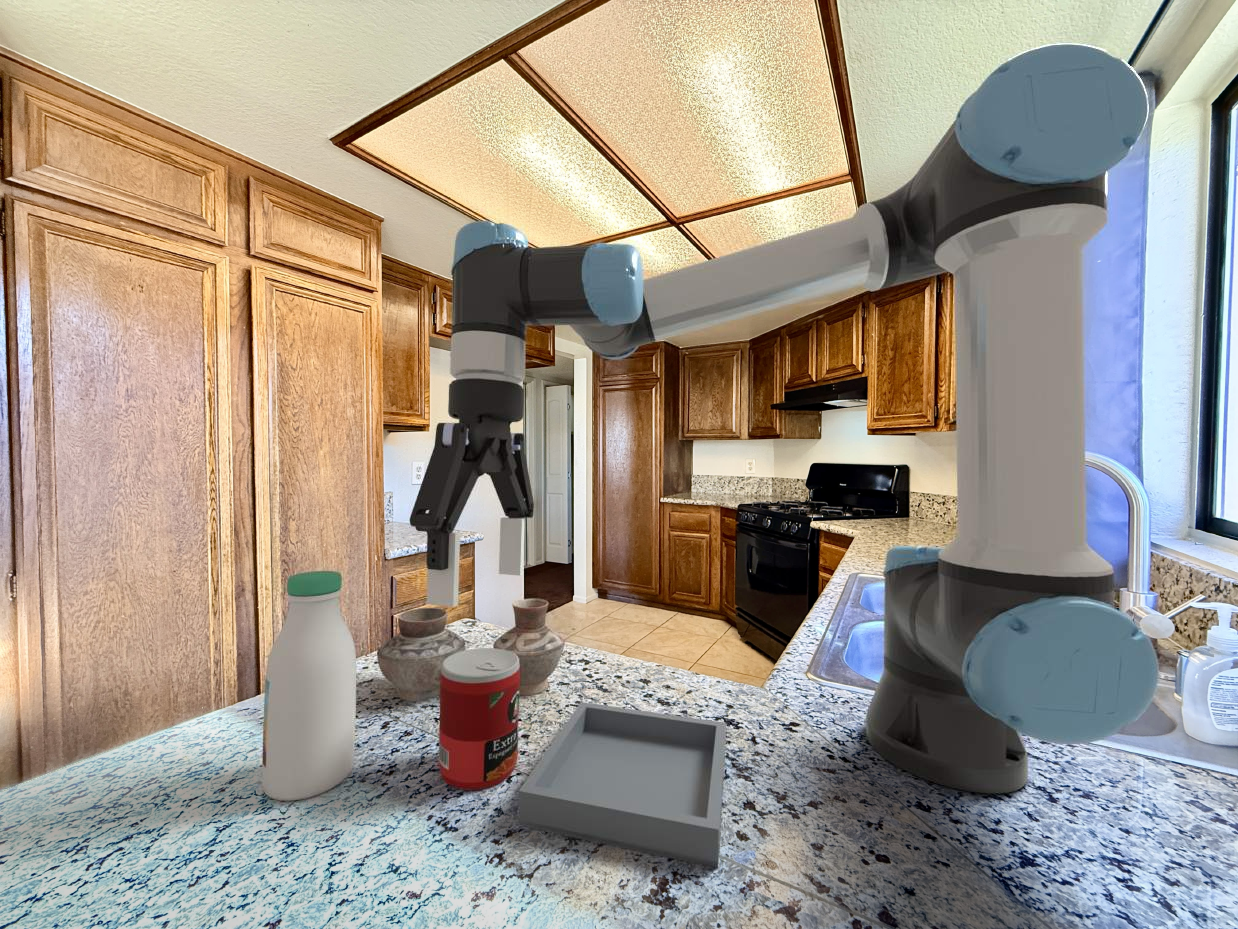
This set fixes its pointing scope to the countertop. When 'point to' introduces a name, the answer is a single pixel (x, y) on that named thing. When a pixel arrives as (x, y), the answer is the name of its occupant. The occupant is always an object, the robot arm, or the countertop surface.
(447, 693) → the canned food
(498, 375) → the robot arm
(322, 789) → the milk bottle
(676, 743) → the tray
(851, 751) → the countertop surface
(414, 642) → the pottery
